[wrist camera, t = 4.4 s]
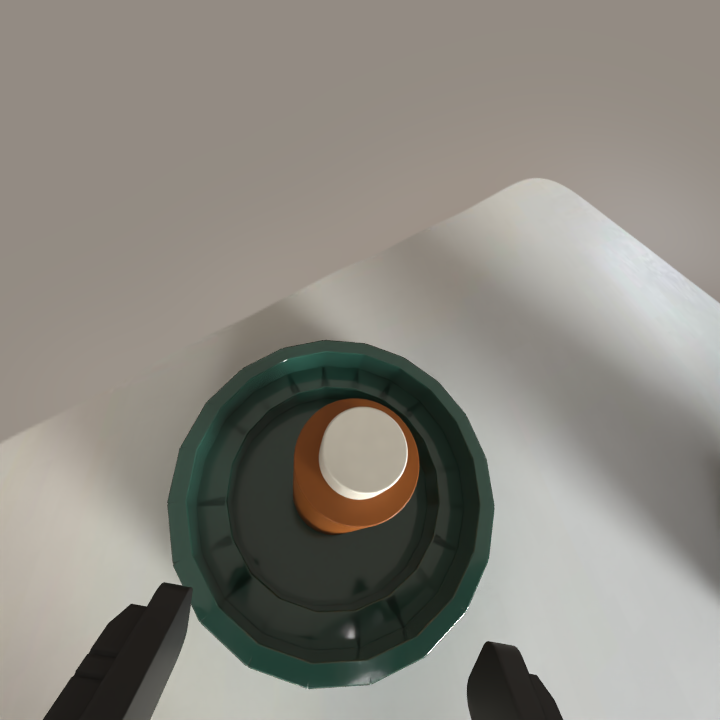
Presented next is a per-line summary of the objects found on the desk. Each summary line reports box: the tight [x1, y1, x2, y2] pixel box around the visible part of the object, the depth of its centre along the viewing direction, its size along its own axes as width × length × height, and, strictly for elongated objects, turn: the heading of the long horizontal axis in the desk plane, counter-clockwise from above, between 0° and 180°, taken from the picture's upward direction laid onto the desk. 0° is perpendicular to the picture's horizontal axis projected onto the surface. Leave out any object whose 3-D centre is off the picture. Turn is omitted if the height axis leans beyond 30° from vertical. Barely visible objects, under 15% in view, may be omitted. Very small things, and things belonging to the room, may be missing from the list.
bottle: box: [293, 398, 419, 535], centre depth 16 cm, size 5×5×10 cm
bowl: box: [167, 340, 494, 689], centre depth 19 cm, size 16×16×4 cm
